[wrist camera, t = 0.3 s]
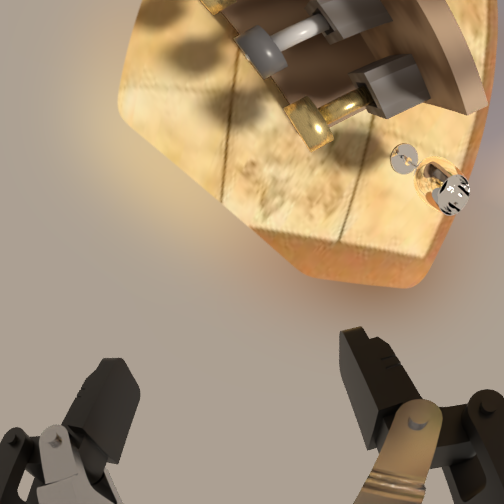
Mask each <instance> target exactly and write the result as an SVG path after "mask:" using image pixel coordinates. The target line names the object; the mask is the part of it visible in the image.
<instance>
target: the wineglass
mask: <svg viewBox="0 0 504 504" xmlns="http://www.w3.org/2000/svg"><path fill="white" fill-rule="evenodd" d="M417 163H418V154H417V151H416V149H415V148H414V147H413V146H412V145H410V144H400V145H398V146H397V147H396V148H395V149H394V151H393V152H392V155H391V164H392V167H393V169H394V170H395V171H396V172H397V173H399V174H408V173H410V172H412V171H413V170H414V169H416V170H415V173H414V187H415V190H416V192H417V194H418V196H419V197H420V198H421V200H422V201H423V202H424V203H426V204H427V205H428V206H429V207H431V208H433V209H434V210H436V211H438V212H440V213H443V214H445V215H450V216H451V215H455V214H457V213H459V212H460V211H461V210H462V209H463V208H464V207H465V205H466V204H467V202H468V199H469V195H470V186H469V182H468V180H467V179H466V177H465V176H464V175H463V174H462V173H461V171H460V170H459V169H458V168H457V167H456V166H455V165H454V164H453V163H451V162H450V161H448V160H447V159H444V158H442V157H438V156H431V157H428V158H425V159H424V160H422V161H421V162H420V163H419V165H417Z"/></svg>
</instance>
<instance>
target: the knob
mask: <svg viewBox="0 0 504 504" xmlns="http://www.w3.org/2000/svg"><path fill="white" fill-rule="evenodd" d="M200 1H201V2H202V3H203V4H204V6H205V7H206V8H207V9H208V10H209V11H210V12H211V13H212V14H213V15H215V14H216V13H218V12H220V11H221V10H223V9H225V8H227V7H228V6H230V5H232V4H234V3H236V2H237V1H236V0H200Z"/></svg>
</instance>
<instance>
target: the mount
mask: <svg viewBox="0 0 504 504" xmlns="http://www.w3.org/2000/svg"><path fill="white" fill-rule="evenodd" d="M236 1H237V2H236V3H234V4H232V5H230V6H228V7H227V8H225V9H223V10H221V13H222V14H223V15H224V16H225V17H226V19H227V20H228V21H229V22H230V23H231V25H232V26H233V27H234V28H235V29H236V31H237V32H238V33H239V34H242V33H244V32H245V31H247V30H249V29H251V28H253V27H254V26H256V25H259V26H260V27H262V28H263V29H264V30H265V31H266V32H267V34H268V35H269V36H271V35H273V34H275V33H277V32H279V31H281V30H283V29H285V28H287V27H289V26H291V25H294V24H296V23H298V22H300V21H302V20H305V19H307V18H309V17H312V16H314V15H316V14H321V15H322V16H323V17H324V18H325V19H326V21H327V22H328V24H329V30H326V31H324V32H322V33H319V34H317V35H315V36H313V37H310V38H308V39H306V40H304V41H302V42H300V43H298V44H296V45H294V46H292V47H290V48H288V49H286V50H284V51H282V52H281V53H282V54H283V56H284V58H285V60H286V62H287V65H288V67H286V68H284V69H282V70H281V71H279V72H277V73H275V74H273V75H271V77H272V79H273V80H274V82H275V83H276V85H277V86H278V88H279V89H280V91H281V92H282V94H283V95H284V97H285V98H286V100H287V101H288V103H289V104H292V103H294V102H296V101H298V100H299V99H301V98H303V97H305V96H307V97H309V98H310V99H311V101H312V102H313V103H314V104H315V106H316V107H317V108H319V107H321V106H323V105H325V104H327V103H329V102H331V101H332V100H334V99H336V98H338V97H340V96H343V95H345V94H347V93H349V92H351V91H353V90H355V89H357V88H359V87H361V86H365V87H366V88H367V89H368V91H369V92H370V94H371V96H372V98H373V102H372V103H370V104H368V105H366V106H364V107H362V108H360V109H358V110H356V111H354V112H352V113H350V114H348V115H346V116H344V117H342V118H340V119H338V120H336V121H334V122H332V123H330V124H328V126H329V128H330V127H332V126H333V125H335V124H337V123H339V122H341V121H343V120H345V119H347V118H349V117H351V116H353V115H355V114H357V113H359V112H361V111H363V110H365V109H367V111H368V113H371V114H374V115H377V116H379V117H382V118H385V119H389V118H391V117H393V116H395V115H397V114H399V113H401V112H403V111H405V110H407V109H409V108H412V107H414V106H416V105H418V104H420V103H422V102H423V103H427V104H431V105H435V106H438V107H442V108H445V109H449V110H452V111H455V112H458V113H461V114H464V115H469V114H471V113H473V112H475V111H477V110H479V109H482V108H484V107H486V106H488V102H487V99H486V95H485V92H484V89H483V85H482V82H481V79H480V76H479V73H478V71H477V68H476V65H475V62H474V60H473V57H472V55H471V52H470V50H469V47H468V45H467V43H466V40H465V38H464V36H463V34H462V32H461V30H460V27H459V25H458V23H457V21H456V19H455V17H454V16H453V14H452V12H451V10H450V8H449V6H448V4H447V3H446V1H445V0H236Z"/></svg>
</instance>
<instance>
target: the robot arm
mask: <svg viewBox="0 0 504 504" xmlns="http://www.w3.org/2000/svg"><path fill="white" fill-rule="evenodd" d="M339 338H340V339H339V341H340V342H339V345H340V347H339V349H340V350H339V352H340V353H339V364H340V372H341V377H342V380H343V383H344V385H345V388H346V391H347V394H348V396H349V399H350V402H351V405H352V407H353V410H354V413H355V416H356V418H357V422H358V424H359V427H360V430H361V433H362V436H363V439H364V442H365V445H366V448H367V450H371V449H374V448H377V449H378V452H379V456H378V458H377V460H376V462H375V464H374V467H373V469H372V471H371V473H370V474H369V476H368V478H367V480H366V482H365V483H364V485H363V487H362V489H361V491H360V492H359V495H358V496H357V498H356V500H355V501H354V503H353V504H422V501H423V498H424V495H425V491H426V490H425V489H426V488H425V487H424V484H425V480H426V477H427V474H428V471H429V469H432V468H439V467H442V469H443V472H444V475H445V477H446V480H447V483H448V486H449V489H450V492H451V495H452V498H453V501H454V504H504V398H503V396H502V395H501V394H499V393H498V392H496V391H494V390H488V389H486V390H481V391H478V392H476V393H475V394H474V395H473V396H472V397H471V398H470V400H469V402H468V404H463V405H457V406H450V407H438V406H437V405H436V404H435V403H433V402H431V401H429V400H425V399H422V397H421V396H420V394H419V393H418V391H417V389H416V388H415V386H414V384H413V382H412V381H411V379H410V378H409V376H408V374H407V372H406V371H405V369H404V368H403V366H402V365H401V363H400V361H399V360H398V358H397V357H396V356H395V353H394V352H393V350H392V349H391V347H390V345H389V344H388V343H386V342H385V341H383V340H382V339H380V338H379V337H375V338H371V339H369V338H368V336H367V334H366V333H365V331H364V329H363V328H362V327H361V326H360V327H356V328H352V329H347V330H344V331H340V336H339ZM139 400H140V389H139V386H138V384H137V382H136V381H135V379H134V377H133V376H132V374H131V372H130V370H129V368H128V367H127V365H126V363H125V361H124V360H123V359H122V358H104V359H102V361H101V362H100V364H99V366H98V367H97V369H96V370H95V371H94V372H93V373H92V374H91V375H90V376H89V377H88V378H86V380H85V382H84V384H83V385H82V387H81V390H80V391H79V392H78V394H77V398H75V400H74V402H73V403H72V405H71V407H70V409H69V411H68V413H67V415H66V417H65V419H64V420H63V422H62V424H61V425H52V426H50V427H48V428H47V429H45V430H44V431H43V433H42V434H41V436H38V437H37V436H36V437H29V436H28V435H27V434H26V433H25V432H24V431H23V430H22V429H21V428H18V427H15V428H12V429H10V430H9V431H8V432H7V433H6V434H5V435H4V437H3V439H2V441H1V443H0V504H123V502H122V500H121V498H120V496H119V494H118V492H117V490H116V487H115V485H114V483H113V481H112V478H111V476H110V474H109V472H108V470H107V469H106V468H105V465H106V462H109V463H114V464H118V463H119V460H120V457H121V453H122V451H123V448H124V444H125V441H126V438H127V435H128V432H129V429H130V426H131V423H132V420H133V418H134V415H135V411H136V409H137V406H138V403H139ZM24 470H27V471H28V472H29V473H30V474H32V475H33V476H34V477H35V478H34V481H33V484H32V486H31V489H30V492H29V495H28V498H27V501H26V502H24V501H23V500H22V499H20V497H19V496H18V492H17V489H18V486H19V483H20V481H21V478H22V475H23V473H24Z"/></svg>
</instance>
